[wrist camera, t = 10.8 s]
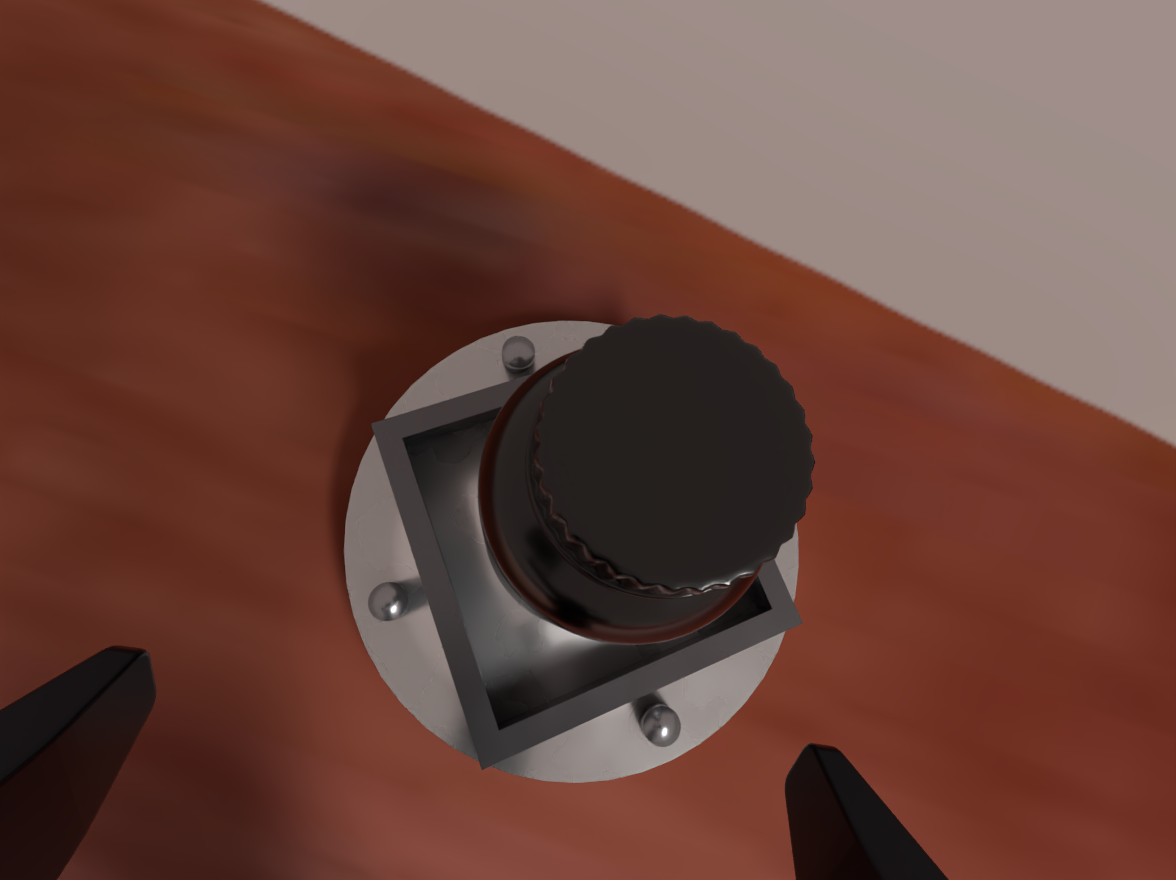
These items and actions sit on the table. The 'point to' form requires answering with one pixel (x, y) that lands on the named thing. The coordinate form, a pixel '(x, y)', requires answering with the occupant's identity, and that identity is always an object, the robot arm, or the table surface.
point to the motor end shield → (499, 623)
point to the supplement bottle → (643, 480)
